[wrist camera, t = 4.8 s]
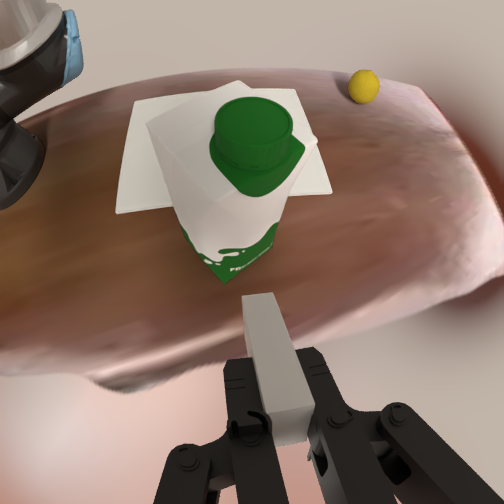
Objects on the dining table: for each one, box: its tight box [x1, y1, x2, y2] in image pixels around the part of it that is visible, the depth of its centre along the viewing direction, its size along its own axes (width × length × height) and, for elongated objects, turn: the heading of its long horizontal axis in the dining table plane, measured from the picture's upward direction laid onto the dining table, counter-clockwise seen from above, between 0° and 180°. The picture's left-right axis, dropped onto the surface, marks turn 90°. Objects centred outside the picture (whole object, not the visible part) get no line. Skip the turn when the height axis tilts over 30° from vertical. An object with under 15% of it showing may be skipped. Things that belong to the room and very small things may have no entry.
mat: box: [115, 89, 332, 214], centre depth 37 cm, size 22×28×1 cm
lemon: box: [348, 70, 379, 104], centre depth 40 cm, size 6×6×8 cm
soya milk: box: [146, 80, 317, 284], centre depth 23 cm, size 9×9×20 cm
